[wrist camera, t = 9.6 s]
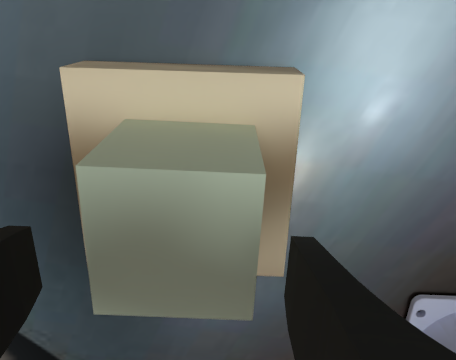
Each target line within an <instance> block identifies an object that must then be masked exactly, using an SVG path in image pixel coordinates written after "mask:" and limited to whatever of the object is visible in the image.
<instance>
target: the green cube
mask: <svg viewBox="0 0 456 360" xmlns="http://www.w3.org/2000/svg"><path fill="white" fill-rule="evenodd" d="M76 174H77V182H78V191H79V199H80V207H81V215H82V223H83V231H84V239H85V248H86V256H87V264H88V272H89V280H90V288H91V296H92V305H93V313H94V314H101V315H126V316H151V317H176V318H201V319H226V320H251V321H252V320H253V310H254V299H255V288H256V278H257V267H258V256H259V246H260V235H261V224H262V214H263V203H264V192H265V182H266V171H265V167H264V163H263V159H262V154H261V150H260V146H259V141H258V137H257V133H256V128H255V125H240V124H219V123H197V122H176V121H155V120H133V119H125V120H124V121H122V122H121V123H120V124H119V125H118V126H117V127H116V128H115V129H114V130H113V131H112V132H111V133H110V134H109V135H108V136H107V137H105V138H104V139H103V140H102V141H101V142H100V143H99V144H98V145H97V146H96V147H95V148H94V149H93V150H92V151H91V152H90V153H88V154H87V155H86V156H85V157H84V158H83V159H82V160H81V161H80V162H79V163H78V164H77V165H76Z"/></svg>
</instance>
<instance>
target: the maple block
mask: <svg viewBox="0 0 456 360" xmlns="http://www.w3.org/2000/svg"><path fill="white" fill-rule="evenodd" d="M60 74H61V82H62V89H63V96H64V103H65V110H66V117H67V124H68V131H69V138H70V145H71V152H72V159H73V166H74V174H75V181H76V188H77V195H78V202H79V209H80V216H81V223H82V215H81V207H80V199H79V191H78V182H77V174H76V165H77V164H78V163H79V162H80V161H81V160H82V159H83V158H84V157H85V156H86V155H87V154H88V153H90V152H91V151H92V150H93V149H94V148H95V147H96V146H97V145H98V144H99V143H100V142H101V141H102V140H103V139H104V138H105V137H107V136H108V135H109V134H110V133H111V132H112V131H113V130H114V129H115V128H116V127H117V126H118V125H119V124H120V123H121V122H122V121H124V120H125V119H133V120H155V121H176V122H197V123H219V124H240V125H255V128H256V133H257V137H258V141H259V146H260V150H261V154H262V159H263V163H264V167H265V171H266V182H265V192H264V203H263V214H262V224H261V235H260V246H259V256H258V267H257V276H281V277H283V276H284V267H285V257H286V248H287V239H288V229H289V220H290V210H291V201H292V191H293V182H294V173H295V163H296V154H297V144H298V135H299V126H300V116H301V107H302V97H303V88H304V78H305V75H304V74H303V73H301V72H300V71H299V70H297V69H296V68H295V67H263V66H232V65H200V64H169V63H138V62H106V61H82V62H78V63H74V64H70V65H66V66H62V67H60ZM82 230H83V223H82ZM83 237H84V231H83ZM84 244H85V239H84ZM85 251H86V248H85ZM86 259H87V256H86ZM87 266H88V264H87Z"/></svg>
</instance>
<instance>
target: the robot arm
mask: <svg viewBox="0 0 456 360" xmlns="http://www.w3.org/2000/svg"><path fill="white" fill-rule="evenodd" d="M41 289H42V282H41V277H40V272H39V267H38V262H37V257H36V252H35V247H34V242H33V236H32V231H31V227H30V226H6V227H3V228H0V358H1V356H2V355H3V354H4V352H5V350H6V349H7V348H8V346H9V345H10V343H11V342H12V340H13V339H14V337H15V336H16V334H17V333H18V331H19V330H20V328H21V327H22V325H23V324H24V322H25V321H26V319H27V317H28V315H29V313H30V311H31V309H32V308H33V306H34V304H35V302H36V299H37V297H38V295H39V293H40V291H41ZM284 298H285V307H286V317H287V325H288V332H289V336H290V341H291V345H292V349H293V353H294V358H295V360H456V296H446V295H417V296H415V297H414V298H413V299H412V301H411V303H410V307H409V310H408V314H407V317H406V320H405V319H404V318H403V317H401V316H400V315H399V314H397V313H396V312H395V311H393V310H392V309H391V308H390V307H388V306H387V305H386V304H385V303H383V302H382V301H381V300H380V299H379V298H377V297H376V296H375V295H374V294H373V293H371V292H370V291H369V290H368V289H367V288H366V287H365V286H363V285H362V284H361V283H360V282H359V281H358V280H357V279H356V278H355V277H353V276H352V275H351V274H350V273H349V272H348V271H347V270H346V269H345V268H344V267H343V266H342V265H341V264H340V263H339V262H338V261H337V260H336V259H335V258H334V257H333V256H332V255H331V254H330V253H329V252H328V251H327V250H326V249H325V248H324V247H323V246H322V245H321V244H320V243H319V242H318V241H317V240H316V239H315V238H314V237H297V236H291V242H290V251H289V260H288V268H287V277H286V286H285V294H284ZM419 310H421V311H420V312H417V311H419Z"/></svg>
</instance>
